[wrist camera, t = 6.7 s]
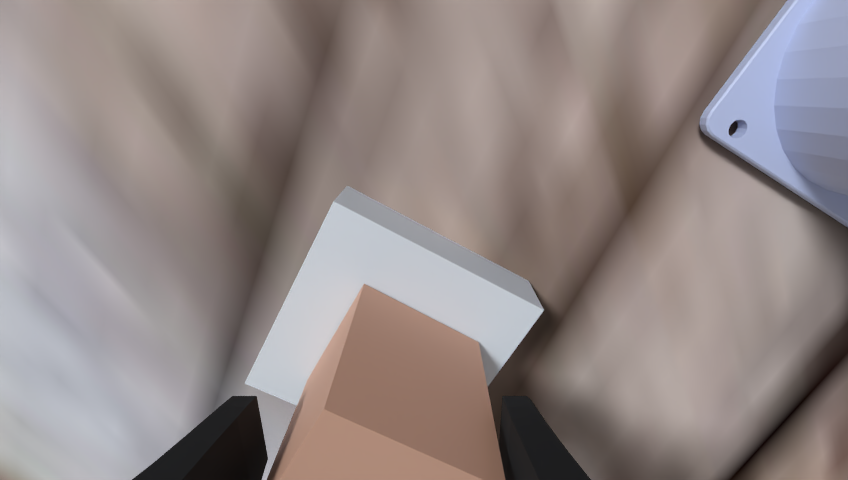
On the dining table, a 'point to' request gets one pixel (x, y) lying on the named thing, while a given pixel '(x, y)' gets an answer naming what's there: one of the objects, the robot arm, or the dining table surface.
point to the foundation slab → (390, 291)
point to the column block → (392, 403)
